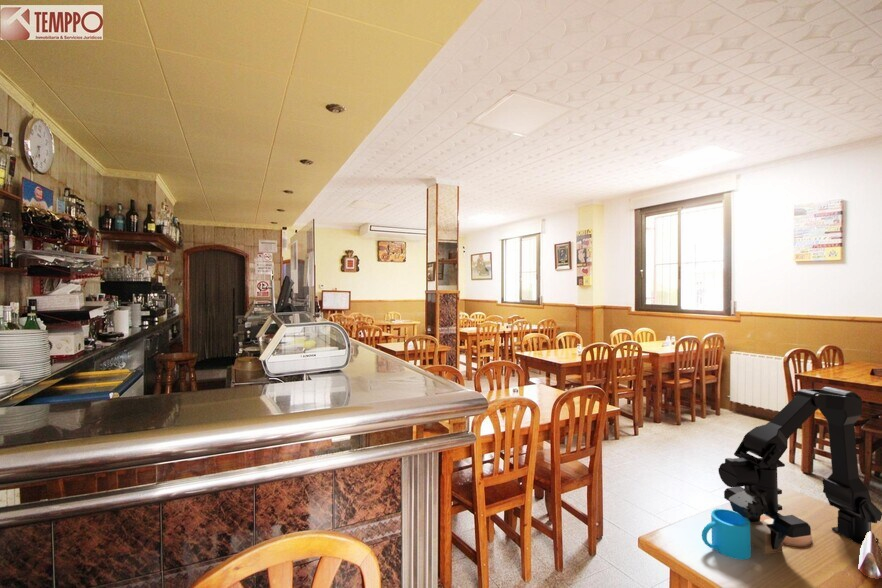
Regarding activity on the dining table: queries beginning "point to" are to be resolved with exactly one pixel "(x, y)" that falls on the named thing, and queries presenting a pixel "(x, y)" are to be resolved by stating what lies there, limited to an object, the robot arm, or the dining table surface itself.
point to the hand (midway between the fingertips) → (764, 542)
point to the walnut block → (762, 537)
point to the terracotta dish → (789, 540)
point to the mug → (729, 534)
